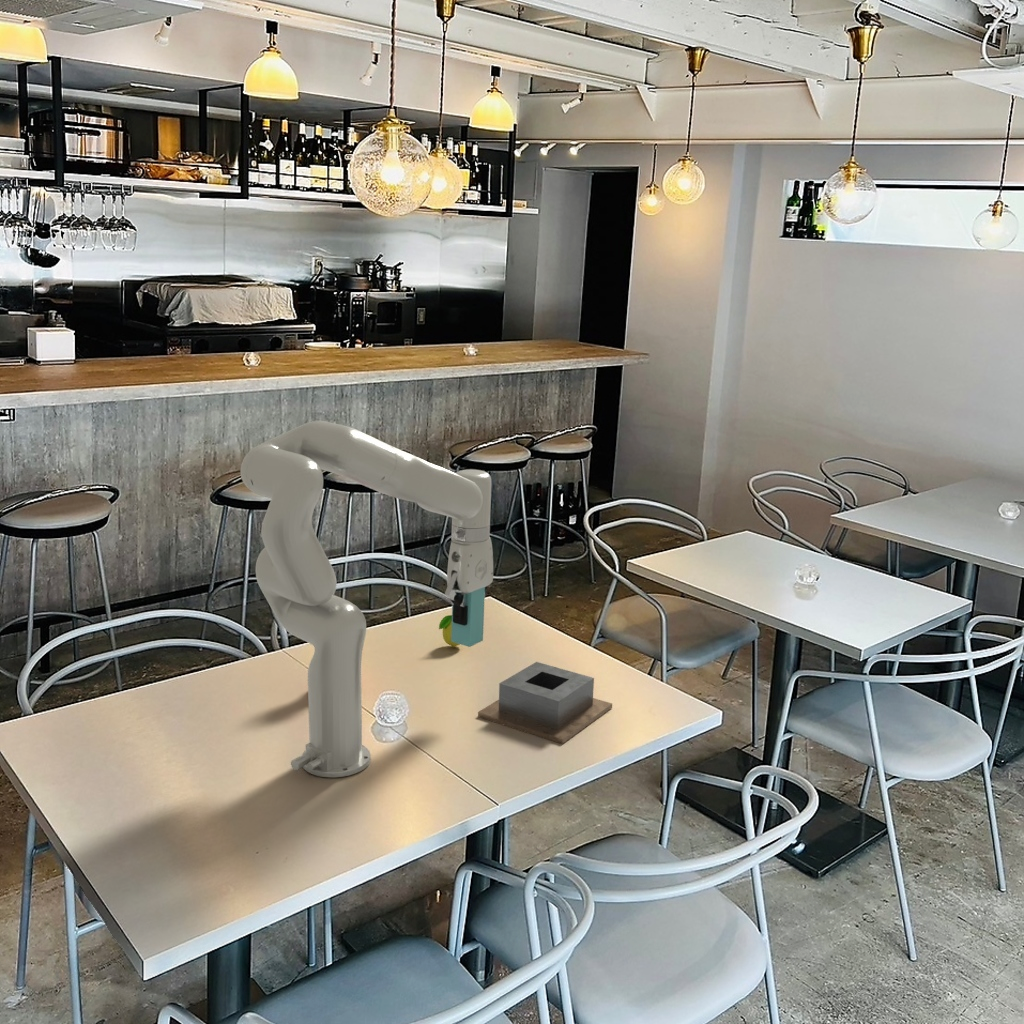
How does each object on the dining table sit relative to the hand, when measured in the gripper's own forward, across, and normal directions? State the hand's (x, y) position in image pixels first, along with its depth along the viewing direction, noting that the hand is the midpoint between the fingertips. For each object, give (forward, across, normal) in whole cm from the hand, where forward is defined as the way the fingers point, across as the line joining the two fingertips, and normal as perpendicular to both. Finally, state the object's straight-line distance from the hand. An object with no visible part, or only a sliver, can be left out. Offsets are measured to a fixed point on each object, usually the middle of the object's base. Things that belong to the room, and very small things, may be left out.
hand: (467, 619), depth 213 cm
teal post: (+5, 0, 0) cm, 5 cm away
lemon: (+19, +26, +22) cm, 39 cm away
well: (+19, +9, -14) cm, 26 cm away
